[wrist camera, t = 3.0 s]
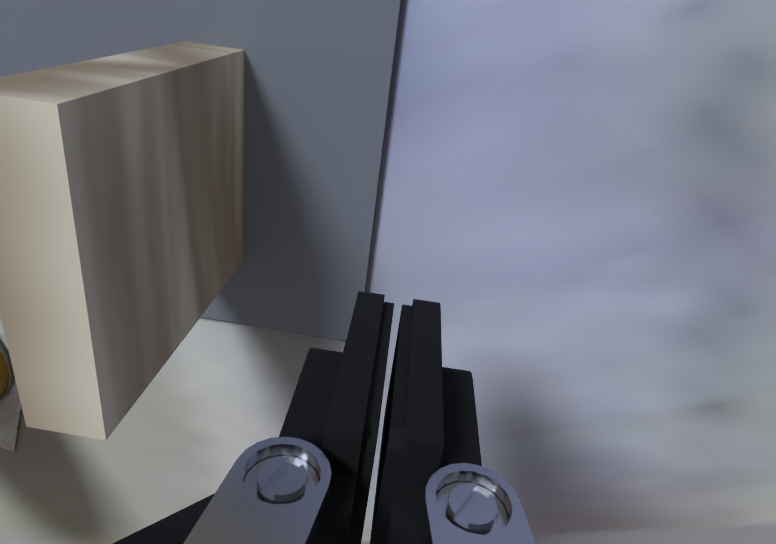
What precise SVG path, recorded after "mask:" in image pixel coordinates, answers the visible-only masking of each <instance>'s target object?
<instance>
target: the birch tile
mask: <svg viewBox="0 0 776 544" xmlns="http://www.w3.org/2000/svg"><path fill="white" fill-rule="evenodd" d="M243 185H244V50H243V49H236V48H229V47H222V46H216V45H209V44H202V43H195V42H188V41H184V42H179V43H174V44H169V45H164V46H159V47H154V48H148V49H143V50H138V51H133V52H128V53H123V54H118V55H112V56H107V57H102V58H97V59H92V60H87V61H81V62H76V63H71V64H66V65H61V66H56V67H51V68H45V69H40V70H35V71H30V72H25V73H20V74H15V75H9V76H4V77H0V315H1V320H2V324H3V328H4V333H5V337H6V341H7V346H8V350H9V354H10V359H11V363H12V367H13V372H14V376H15V380H16V385H17V389H18V393H19V398H20V402H21V406H22V411H23V415H24V419H25V424H26V427H31V428H37V429H43V430H48V431H54V432H60V433H66V434H72V435H77V436H83V437H89V438H95V439H101V440H107V439H108V437H109V436H110V435H111V433H112V432H113V431H114V429H115V428H116V427H117V425H118V424H119V423H120V422H121V420H122V419H123V418H124V416H125V415H126V414H127V412H128V411H129V410H130V408H131V407H132V406H133V405H134V403H135V402H136V401H137V399H138V398H139V397H140V395H141V394H142V393H143V391H144V390H145V389H146V388H147V386H148V385H149V384H150V382H151V381H152V380H153V378H154V377H155V376H156V374H157V373H158V372H159V371H160V369H161V368H162V367H163V365H164V364H165V363H166V361H167V360H168V359H169V358H170V356H171V355H172V354H173V352H174V351H175V350H176V348H177V347H178V346H179V344H180V343H181V342H182V341H183V339H184V338H185V337H186V335H187V334H188V333H189V331H190V330H191V329H192V327H193V326H194V325H195V324H196V322H197V321H198V320H199V318H200V317H201V316H202V314H203V313H204V312H205V310H206V309H207V308H208V307H209V305H210V304H211V303H212V301H213V300H214V299H215V297H216V296H217V295H218V294H219V292H220V291H221V290H222V288H223V287H224V286H225V284H226V283H227V282H228V280H229V279H230V278H231V277H232V275H233V274H234V273H235V271H236V270H237V269H238V267H239V266H240V265H241V263H242V262H243Z"/></svg>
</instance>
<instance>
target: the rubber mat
mask: <svg viewBox="0 0 776 544" xmlns="http://www.w3.org/2000/svg"><path fill="white" fill-rule="evenodd" d="M400 6H401V0H0V77H4V76H9V75H15V74H20V73H25V72H30V71H35V70H40V69H45V68H51V67H56V66H61V65H66V64H71V63H76V62H81V61H87V60H92V59H97V58H102V57H107V56H112V55H118V54H123V53H128V52H133V51H138V50H143V49H148V48H154V47H159V46H164V45H169V44H174V43H179V42H184V41H188V42H195V43H202V44H209V45H216V46H222V47H229V48H236V49H243V50H244V185H243V262H242V263H241V265H240V266H239V267H238V269H237V270H236V271H235V273H234V274H233V275H232V277H231V278H230V279H229V280H228V282H227V283H226V284H225V286H224V287H223V288H222V290H221V291H220V292H219V294H218V295H217V296H216V297H215V299H214V300H213V301H212V303H211V304H210V305H209V307H208V308H207V309H206V310H205V312H204V313H203V314H202V316H201V317H203V318H210V319H216V320H222V321H228V322H234V323H240V324H246V325H252V326H258V327H264V328H271V329H277V330H283V331H289V332H295V333H301V334H307V335H313V336H319V337H325V338H332V339H338V340H344V341H346V339H347V335H348V331H349V327H350V323H351V319H352V315H353V311H354V307H355V303H356V299H357V295H358V291H361V292H365V290H366V281H367V273H368V265H369V257H370V249H371V241H372V233H373V225H374V217H375V209H376V200H377V192H378V184H379V176H380V168H381V160H382V152H383V144H384V136H385V128H386V119H387V111H388V103H389V95H390V87H391V79H392V71H393V63H394V55H395V47H396V38H397V30H398V22H399V14H400Z"/></svg>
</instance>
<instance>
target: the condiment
mask: <svg viewBox="0 0 776 544" xmlns="http://www.w3.org/2000/svg"><path fill="white" fill-rule="evenodd" d="M20 410H21V402H20V398H19V393H18V389H17V385H16V380H15V376H14V372H13V367H12V363H11V359H10V354H9V350H8V346H7V341H6V337H5V333H4V328H3V324H2V320H1V319H0V447H1V448H4V449H7V450H10V451H12V452H14V450H15V441H16V437H17V426H18V422H19V414H20Z"/></svg>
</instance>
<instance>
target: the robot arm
mask: <svg viewBox="0 0 776 544" xmlns="http://www.w3.org/2000/svg"><path fill="white" fill-rule="evenodd" d="M384 296H385V295H382V294H375V293H368V292H361V291H358V295H357V299H356V303H355V307H354V311H353V315H352V319H351V323H350V327H349V331H348V335H347V339H346V343H345V347H344V351H343V353H342V352H336V351H329V350H322V349H315V348H310V350H309V352H308V354H307V357H306V360H305V363H304V366H303V369H302V372H301V375H300V378H299V381H298V383H297V386H296V389H295V392H294V395H293V398H292V401H291V404H290V407H289V409H288V412H287V415H286V418H285V421H284V424H283V427H282V430H281V433H280V436H279V437H276V438H269V439H266V440H263V441H260V442H257V443H256V444H254V445H252V446H251V447H249V448H248V449H246V450H245V451H244V452H243V453H242V454H241V455H240V457H239V458H238V459H237V460H236V462H235V463H234V465H233V466H232V468H231V469H230V471H229V473H228V474H227V476H226V477H225V479H224V480H223V482H222V484H221V485H220V487H219V488H218V490H217V491H216V493H215V494H213V495H211V496H209V497H207V498H205V499H203V500H201V501H199V502H196V503H194V504H192V505H190V506H188V507H186V508H184V509H182V510H180V511H178V512H176V513H174V514H172V515H170V516H168V517H166V518H164V519H162V520H160V521H158V522H156V523H154V524H152V525H150V526H148V527H146V528H144V529H141V530H139V531H137V532H135V533H133V534H131V535H129V536H127V537H125V538H123V539H121V540H119V541H117V542H115V543H113V544H361V540H362V533H363V527H364V520H365V514H366V507H367V501H368V495H369V488H370V482H371V475H372V469H373V463H374V456H375V450H376V443H377V436H378V429H379V421H380V413H381V405H382V397H383V389H384V381H385V373H386V364H387V356H388V348H389V340H390V332H391V324H392V316H393V308H394V303H388V302H384ZM370 544H535V541H534V538H533V535H532V532H531V529H530V526H529V523H528V521H527V518H526V515H525V512H524V509H523V506H522V503H521V501H520V499H519V497H518V495H517V493H516V491H515V490H514V488H513V487H512V486H511V485H510V484H509V483H508V482H507V481H506V480H505V479H504V478H503V477H501V476H500V475H498V474H497V473H495V472H494V471H492V470H490V469H487V468H484V467H482V464H481V455H480V445H479V435H478V426H477V416H476V407H475V397H474V387H473V378H472V373H471V372H470V371H465V370H458V369H452V368H445V367H442V350H441V310H440V303H437V302H430V301H423V300H416V299H414V300H413V304H412V306H409V305H402V309H401V316H400V322H399V328H398V334H397V341H396V347H395V353H394V359H393V366H392V372H391V378H390V384H389V391H388V397H387V403H386V410H385V417H384V424H383V433H382V442H381V451H380V460H379V468H378V477H377V486H376V495H375V504H374V513H373V521H372V530H371V539H370Z"/></svg>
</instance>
